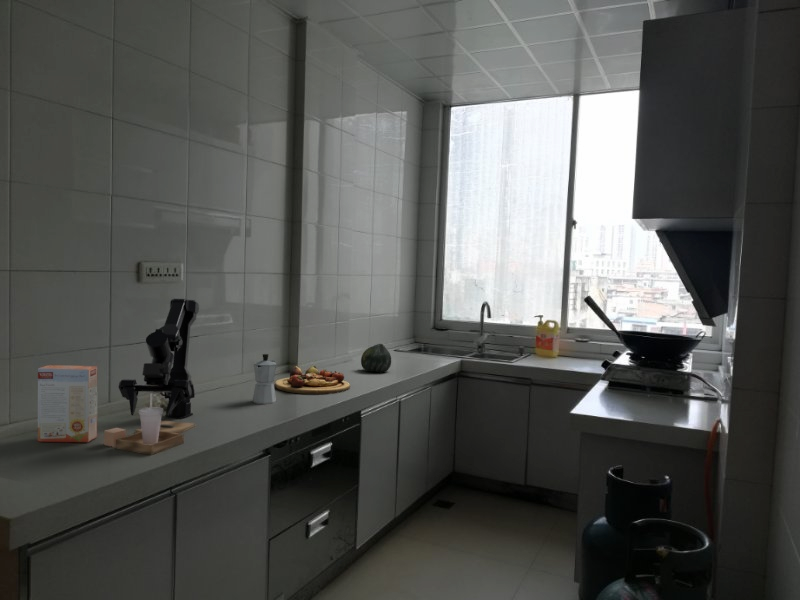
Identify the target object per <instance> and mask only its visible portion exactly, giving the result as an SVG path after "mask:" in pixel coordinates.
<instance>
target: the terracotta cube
mask: <svg viewBox="0 0 800 600" xmlns="http://www.w3.org/2000/svg"><path fill="white" fill-rule="evenodd" d="M125 436H127V429H124V428H119V427H113V428H110V429H106V430H103V445H104V446H108V447H111V446H112V448H116V447H115V446H116V439H119V438H122V437H125Z"/></svg>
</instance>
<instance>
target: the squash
mask: <svg viewBox="0 0 800 600" xmlns="http://www.w3.org/2000/svg"><path fill="white" fill-rule="evenodd" d="M360 358H361V359H360V363H361V364H360V365H361V367H362V369H363V370H365V371H367V372H378V373H380V372H382V373H385V372H384V371H386V372H387V371H388V370H389V369H390V368H391V366H392V356H391V353H390V351H389V350H388V349H387V348H386V346H385V345H384V344H383V343H377V344H374V345H372V346H370V347H368V348H366V349H364V352H362V355H361V357H360Z"/></svg>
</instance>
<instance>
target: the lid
mask: <svg viewBox="0 0 800 600" xmlns="http://www.w3.org/2000/svg"><path fill="white" fill-rule="evenodd" d="M194 427H196V423H192V422H181V421H170V420H161V423H160V431H166V432H172V433H178V434H183V433H184V432H186V431H188V430H190V429H193V428H194ZM134 431H135V433H138V432H141V431H142V429H141V427H140V428H137V429H135V430H134ZM135 433H134V434H135Z"/></svg>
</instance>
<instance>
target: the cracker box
mask: <svg viewBox="0 0 800 600" xmlns="http://www.w3.org/2000/svg"><path fill="white" fill-rule="evenodd" d="M97 437H98V366H97V365H95V366H93V365H65V364H64V365H63V364H61V365H58V364H57V365H53V364H52V365H50V364H48V365H45V366H41V367H39V368H37V442H41V443H42V442H45V443H48V442H49V443H50V442H51V443H55V442H56V443H89V442H90V441H93V440H94V439H96V438H97Z"/></svg>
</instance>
